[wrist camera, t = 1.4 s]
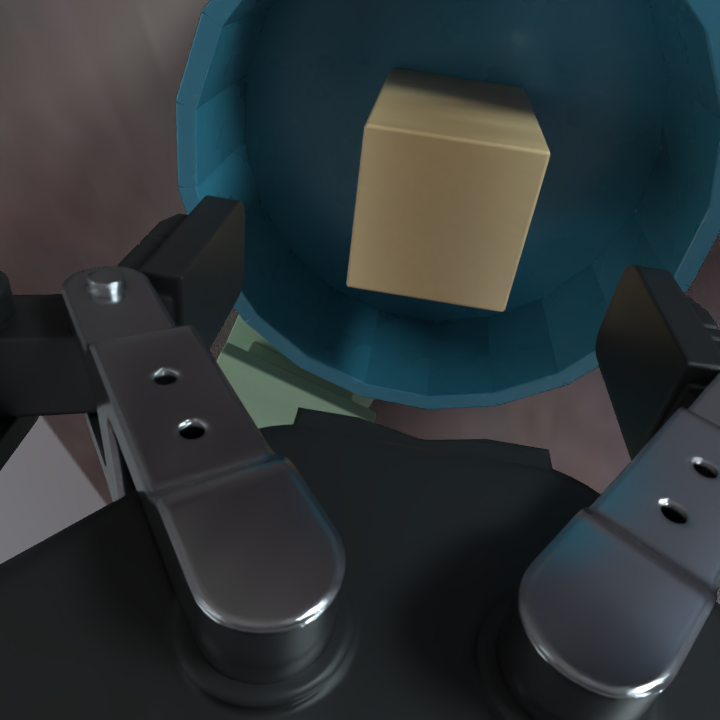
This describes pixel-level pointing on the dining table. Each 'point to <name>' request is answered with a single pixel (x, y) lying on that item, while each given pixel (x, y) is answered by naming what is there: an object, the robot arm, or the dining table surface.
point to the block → (445, 189)
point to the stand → (280, 382)
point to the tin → (554, 204)
